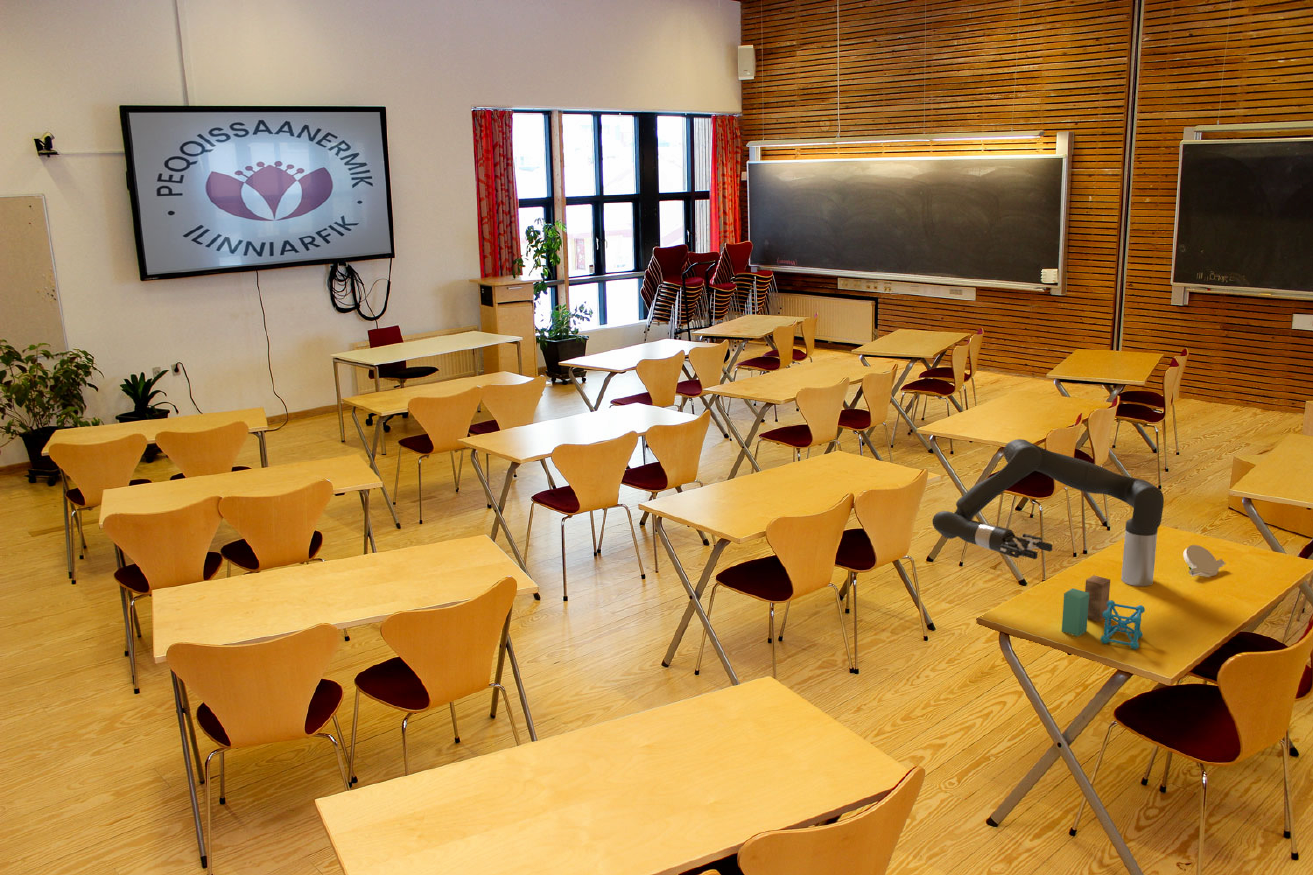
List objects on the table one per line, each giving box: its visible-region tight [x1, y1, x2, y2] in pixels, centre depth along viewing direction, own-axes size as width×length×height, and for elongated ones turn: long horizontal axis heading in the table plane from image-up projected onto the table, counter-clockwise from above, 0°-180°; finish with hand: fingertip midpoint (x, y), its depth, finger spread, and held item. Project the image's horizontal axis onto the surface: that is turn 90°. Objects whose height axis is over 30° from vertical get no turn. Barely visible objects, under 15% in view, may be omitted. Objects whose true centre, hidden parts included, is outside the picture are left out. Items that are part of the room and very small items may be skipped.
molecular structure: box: [1100, 599, 1146, 650], centre depth 284 cm, size 10×10×10 cm
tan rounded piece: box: [1182, 544, 1226, 578], centre depth 328 cm, size 15×8×11 cm, turn 117°
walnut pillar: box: [1084, 574, 1111, 623], centre depth 299 cm, size 5×5×12 cm
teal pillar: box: [1061, 587, 1089, 637], centre depth 291 cm, size 5×5×12 cm
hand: (1044, 551), depth 294 cm, fingers open, 8 cm apart
